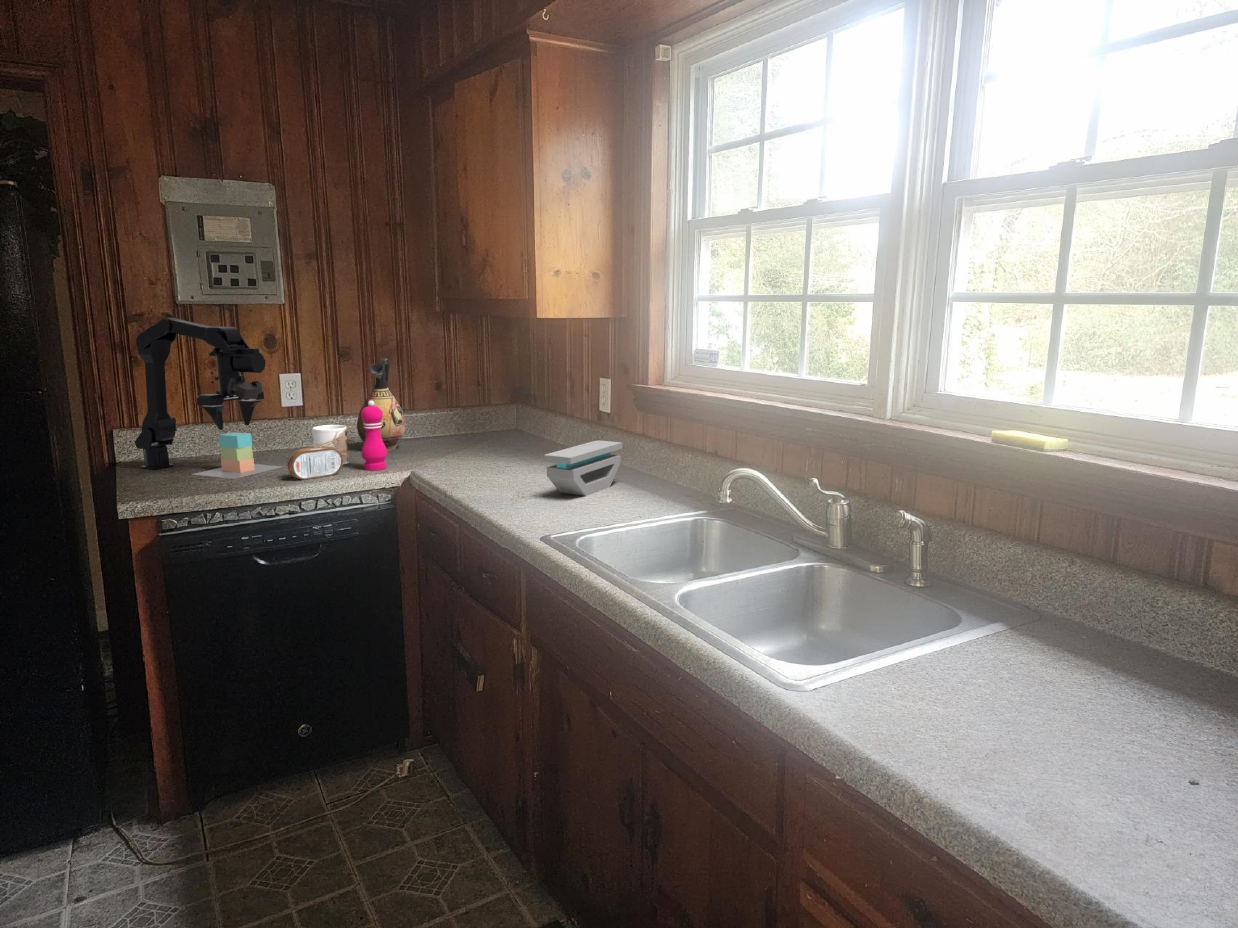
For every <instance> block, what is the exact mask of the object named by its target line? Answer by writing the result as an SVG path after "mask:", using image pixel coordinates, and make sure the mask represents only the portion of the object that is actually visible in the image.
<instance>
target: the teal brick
mask: <svg viewBox="0 0 1238 928" xmlns="http://www.w3.org/2000/svg"><path fill="white" fill-rule="evenodd" d="M218 444H219V448H220V447H226V448H243V447H248V446H252V447H253V440H252V433H247V432H234V431H233V432H226V433H221V434H218Z"/></svg>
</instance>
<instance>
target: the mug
mask: <svg viewBox="0 0 1238 928" xmlns="http://www.w3.org/2000/svg"><path fill="white" fill-rule="evenodd" d="M347 427H348V426H347V425H343V424H326V425H325V424H324V425H317V426H313V427H312V429H311V430H312V431H311V432H312V442H313V445H312V446H313V448H315V447H324V446H330V447H333V448H335V449H337V450H338V451H339V452H340V453H341V454H342V457H343V465H346V464H349V463H350V457H349V440H348V428H347Z"/></svg>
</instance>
